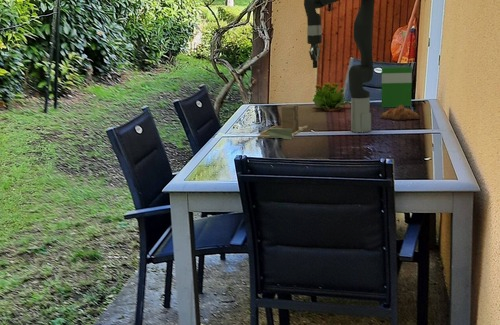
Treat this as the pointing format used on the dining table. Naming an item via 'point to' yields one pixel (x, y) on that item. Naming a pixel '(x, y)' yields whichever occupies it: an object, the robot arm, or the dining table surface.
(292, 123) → the walnut block
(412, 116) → the pastry
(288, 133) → the tray
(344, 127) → the dining table surface
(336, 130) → the dining table surface
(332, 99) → the green leafy plant
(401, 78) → the hardback book
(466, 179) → the dining table surface
